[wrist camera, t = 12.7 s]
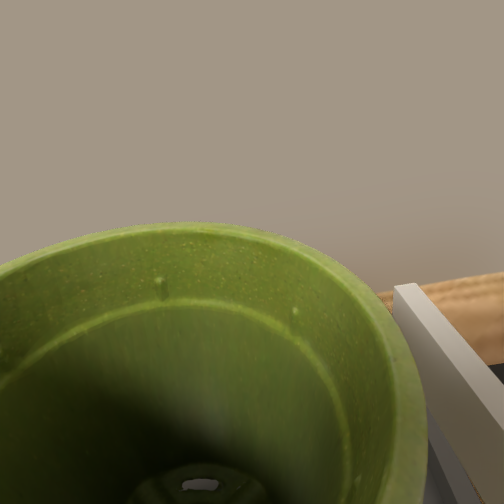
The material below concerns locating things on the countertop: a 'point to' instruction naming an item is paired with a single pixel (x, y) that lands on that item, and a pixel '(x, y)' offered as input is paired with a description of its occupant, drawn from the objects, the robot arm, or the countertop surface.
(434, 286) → the countertop surface
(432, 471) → the tray
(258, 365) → the plant pot
